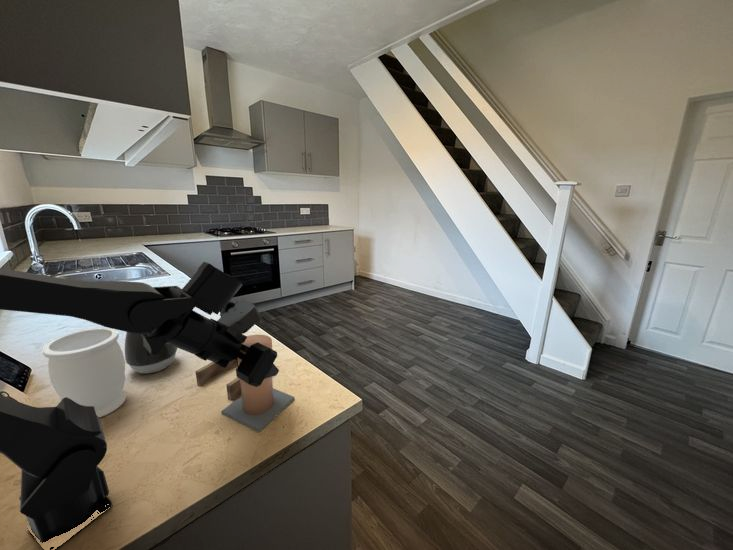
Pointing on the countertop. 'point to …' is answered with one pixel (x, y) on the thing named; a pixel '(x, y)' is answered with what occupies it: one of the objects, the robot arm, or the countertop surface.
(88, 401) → the jar
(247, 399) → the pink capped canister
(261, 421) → the mat
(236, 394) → the frame
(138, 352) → the pump dispenser
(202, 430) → the countertop surface
